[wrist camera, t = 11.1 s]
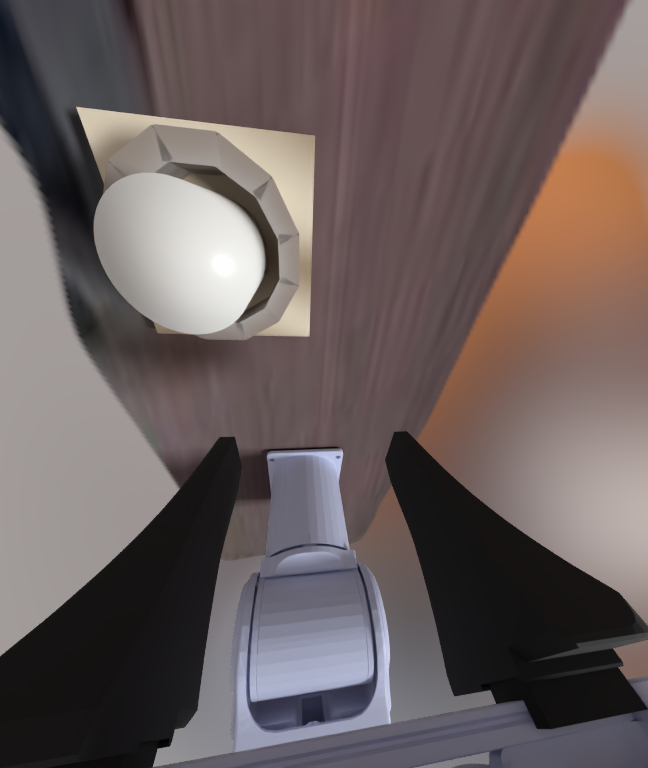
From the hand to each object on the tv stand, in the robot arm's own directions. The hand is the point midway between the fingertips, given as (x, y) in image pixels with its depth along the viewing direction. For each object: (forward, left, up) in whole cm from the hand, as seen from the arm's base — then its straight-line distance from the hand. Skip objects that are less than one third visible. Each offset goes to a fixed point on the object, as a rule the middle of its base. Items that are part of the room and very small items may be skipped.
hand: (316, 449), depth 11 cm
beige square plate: (+7, +5, -9) cm, 13 cm away
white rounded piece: (+7, +5, -8) cm, 12 cm away
